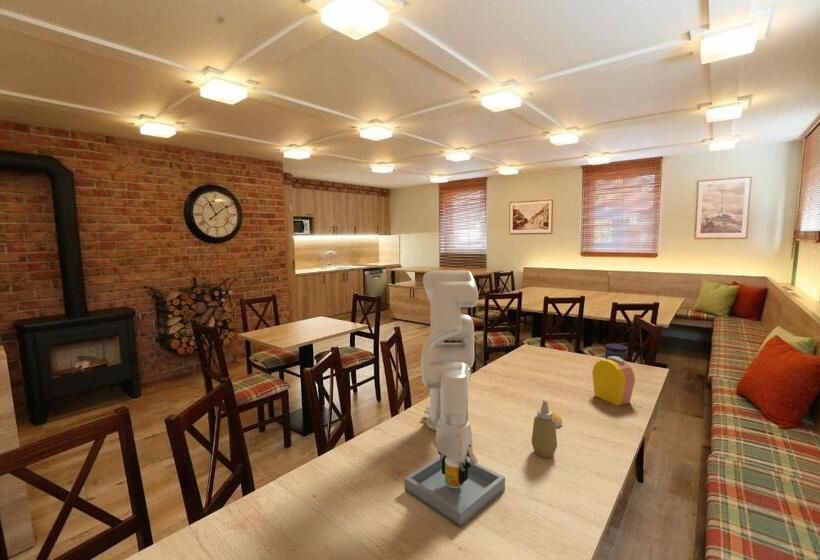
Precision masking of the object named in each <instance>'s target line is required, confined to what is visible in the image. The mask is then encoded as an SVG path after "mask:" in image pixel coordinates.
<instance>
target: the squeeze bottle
mask: <svg viewBox="0 0 820 560" xmlns="http://www.w3.org/2000/svg"><path fill="white" fill-rule="evenodd" d="M536 412H537V414H536V415H535V416H534V418H533V426H532V433H531V445H532V448H533V451H534V453H535V455H537V456H538V457H539V458H544V459H545V458H546V459H547V458H548V459H549V458H552V457H554V456H555V453H556V450H557V448H558V440H557V439H558V438H557V427H556V425H555V419H554V418H553V417H552V410H550V408H549V403H548V401H547V400H545V399H544V400H542V404H541V408H540V409H538V410H537V411H536Z"/></svg>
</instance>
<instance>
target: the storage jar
mask: <svg viewBox="0 0 820 560" xmlns="http://www.w3.org/2000/svg"><path fill="white" fill-rule="evenodd" d="M604 355H605V360H606V359H607V357H611V356H616V357H620V358H621V359H623V360H624V361H626V362H627V359H628V346H627V345H624V344H621V343H613V342H611V343H606V344H605V354H604Z"/></svg>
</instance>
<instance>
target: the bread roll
mask: <svg viewBox="0 0 820 560" xmlns="http://www.w3.org/2000/svg"><path fill="white" fill-rule="evenodd" d="M551 411H552V410H551ZM552 417H553V418H554V419H555V425H556V428H559V427H560V426H562V423H563V419H562V417H561V416H560V415H558V414H557V413H556V412H554V411H552Z"/></svg>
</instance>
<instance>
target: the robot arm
mask: <svg viewBox="0 0 820 560" xmlns="http://www.w3.org/2000/svg"><path fill="white" fill-rule="evenodd" d="M422 282H423V287H424V288H423V289H424V292H425V293H426V295H427V298H428V300H429V307H430V308H429V309H430V310H429V311H430V312H429V313H430V315H429V316H430V334H429V336H428V337H427V339H426V340H425V341H424V344H423V346H422V350H421V359H420V360H421V379H422V380H421V381H422V384H423V385H424V386H425V388H427V389H429V405H430V406H428V405H427V406H426V407H425V409H424V411H423V412H424V414H426V415H427V416H428V417H427V419H426V421H425V423H426V427H427V428H428V429H430V430H432V431H435V432H436V433H435V440H434V441H433V443H432V444H433V446H434V447H435V449H436V451H437V453H438V455H439V457H440V459H441V460H442V474H445V458H446V456H447V457H449V458H451V459H453V460H455V461H457V462H459V465H460V470H459V483H460V484H462V483H463V482H465V481H466V480H467V479H468V468H469V467H471V466H473V465H475V464H476V463H478V464H479V461H478V459H477V457H476V455H475V453H474V452H473V451H474V450H473V437H472V436H473V435H472V428H471V424H470V422H469V383H470V382H471V377H472V373H471V367H473V365H474V362H475V325H474V320H473V318H472V317H471V316H470V315H468V314H465V313H462V312H461V308H474V307H476V306H477V305H478V303H479V290H478V286H477V282H476V279H475V278H474V276H473V274H472V272H471V271H470V270H465V269H463V270H462V269H459V270H458V269H457V270H446V269H445V270H442V269H441V270H432V271H431V270H430V271H428V272H425V273H424V274H423V277H422ZM461 313H462V314H461ZM442 341H460V342H442ZM469 459H470V461H469ZM464 461H465V465H464V463H463V462H464Z"/></svg>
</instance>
